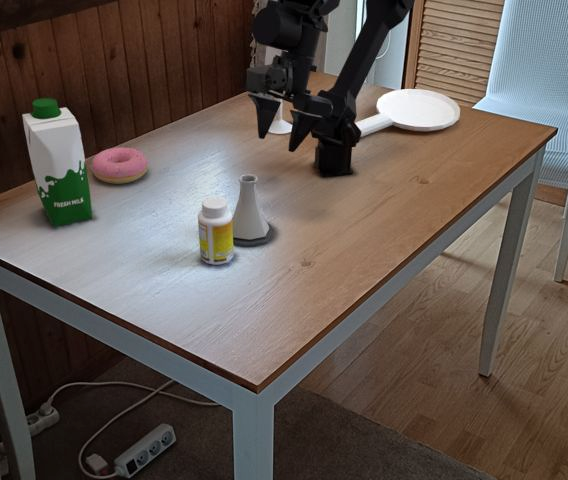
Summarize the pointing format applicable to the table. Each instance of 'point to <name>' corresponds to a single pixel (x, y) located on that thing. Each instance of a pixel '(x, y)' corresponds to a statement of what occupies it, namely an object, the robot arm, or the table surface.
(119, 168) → the doughnut
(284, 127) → the champagne flute
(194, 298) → the table surface
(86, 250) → the table surface
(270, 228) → the slate coaster
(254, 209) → the flask
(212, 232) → the supplement bottle
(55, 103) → the milk carton
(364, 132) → the frying pan
